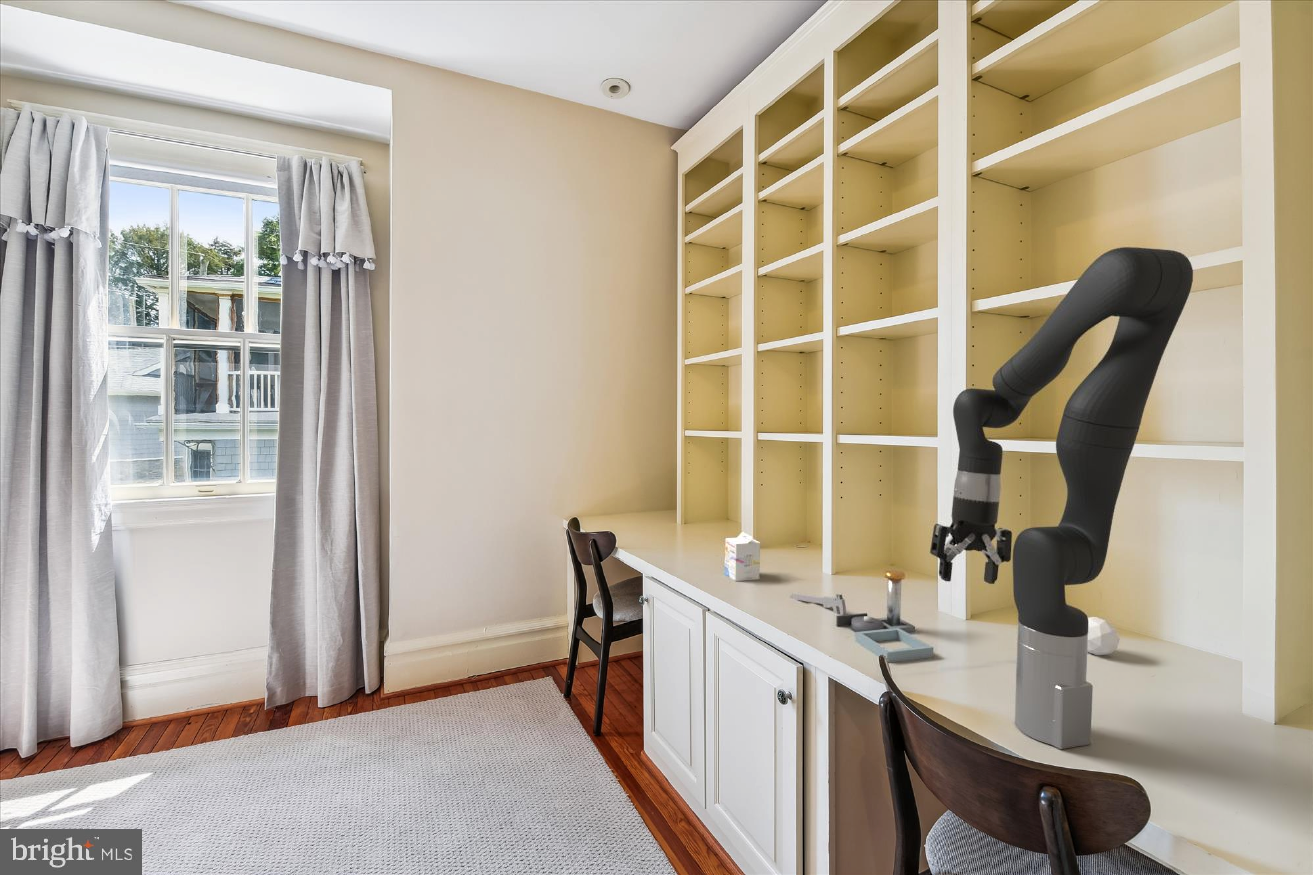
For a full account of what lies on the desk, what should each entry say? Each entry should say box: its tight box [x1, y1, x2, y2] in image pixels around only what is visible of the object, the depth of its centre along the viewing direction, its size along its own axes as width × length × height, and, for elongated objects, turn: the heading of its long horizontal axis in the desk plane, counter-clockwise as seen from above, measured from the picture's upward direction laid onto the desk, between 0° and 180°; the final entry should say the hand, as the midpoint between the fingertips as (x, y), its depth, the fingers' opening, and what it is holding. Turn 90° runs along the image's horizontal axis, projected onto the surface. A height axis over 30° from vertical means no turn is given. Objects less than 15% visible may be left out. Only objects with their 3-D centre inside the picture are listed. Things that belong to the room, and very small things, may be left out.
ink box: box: [724, 531, 761, 582], centre depth 178 cm, size 9×8×13 cm
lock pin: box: [884, 569, 906, 627], centre depth 133 cm, size 4×4×13 cm
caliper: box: [789, 592, 847, 615], centre depth 150 cm, size 20×1×6 cm, turn 26°
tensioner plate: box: [835, 612, 920, 635], centre depth 132 cm, size 9×16×4 cm, turn 104°
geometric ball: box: [1087, 616, 1120, 656], centre depth 122 cm, size 8×8×8 cm
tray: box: [854, 628, 934, 663], centre depth 121 cm, size 11×11×3 cm
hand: (967, 581), depth 107 cm, fingers open, 8 cm apart
